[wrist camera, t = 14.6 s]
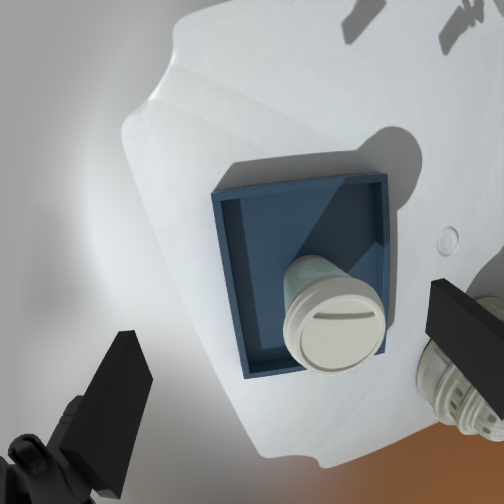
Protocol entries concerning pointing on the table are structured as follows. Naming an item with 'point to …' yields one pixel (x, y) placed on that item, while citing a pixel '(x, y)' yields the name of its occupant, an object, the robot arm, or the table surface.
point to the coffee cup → (330, 317)
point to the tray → (296, 252)
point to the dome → (458, 389)
